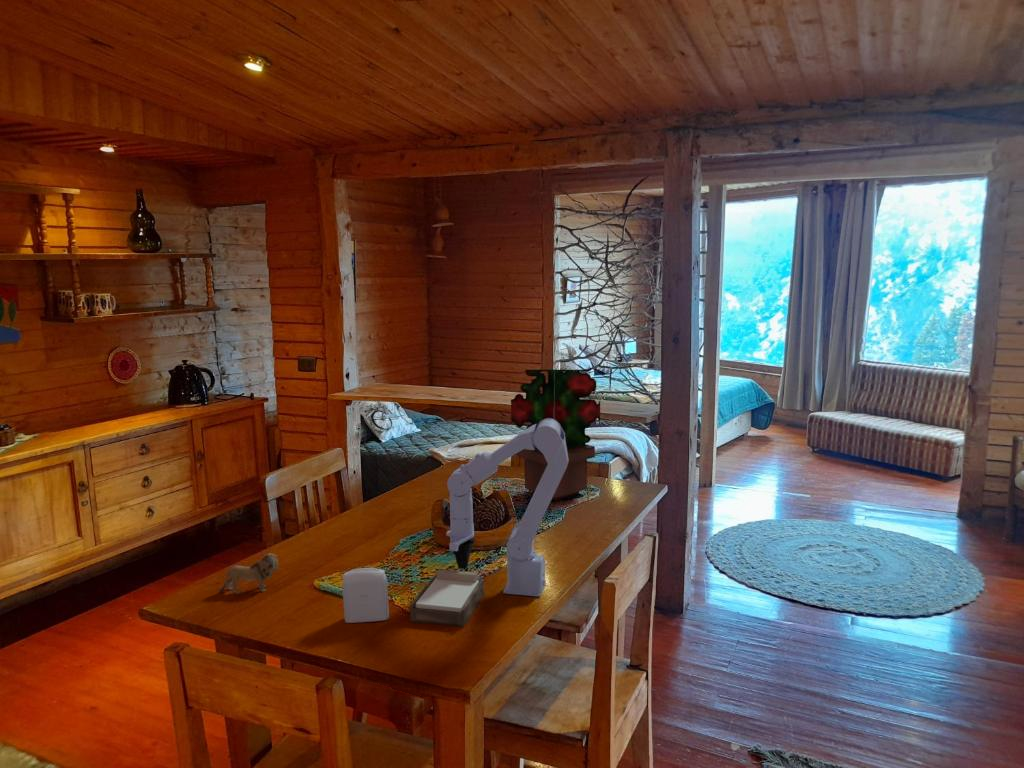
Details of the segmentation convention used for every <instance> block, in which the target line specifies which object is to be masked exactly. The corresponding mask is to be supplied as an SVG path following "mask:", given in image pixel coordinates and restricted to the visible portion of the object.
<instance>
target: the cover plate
mask: <svg viewBox="0 0 1024 768" xmlns="http://www.w3.org/2000/svg"><path fill="white" fill-rule="evenodd" d="M436 575H437V577H436V579H435V580H434V581H433V582H432V584H431V585H430V586H429V587H428V589H427V590H426V591H425V592H424V594H423V595H422V596H421V597H420V599H419V600H418V601H417V602H416V608H425V609H435V610H445V611H455V612H461V610H462V608H463V607H464V605H465V604H466V602H467V601H468V599H469V598H470V596H471V595H472V593H473V592H474V590H475V588H476V587H477V585H478V584H479V580H477V579H478V573H477V572H473V571H472V572H471V571H463V570H462V571H461V570H450V569H437V571H436Z"/></svg>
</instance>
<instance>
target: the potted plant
mask: <svg viewBox="0 0 1024 768" xmlns="http://www.w3.org/2000/svg"><path fill="white" fill-rule="evenodd" d="M588 371H589V369H557V367H555V368H554V369H525V374H526V376H528V377H535V378H533V379H532V380H531V382H530V383H522V384H520V386H519V389H520V391H522V393H523V392H525V398H524V396H523V394H521V393H517V394H515V396H514V398H512V399H510V419H511V420H510V422H511V423H514V425H515V426H516V427H517V428H522V427H524V425H525V423H530V424H528V425H527V426H526V428H525V430H526V429H527V428H529V427H531V426H532V425H535V424H536V427H535V428H537V426H538V424H539V422H540V421H542V420H544V419H547V418H550V419H554V420H556V421H557V422H558V423H559V424H560V426H561V428H562V429H563V431H564V433H565V441H566V447H567V453H568V460H569V461H568V465H567V468H566V470H565V472H564V474H563V476H562V478H561V481H560V483H559V485H558V487H557V489H556V491H555V493H554V495H553V497H552V499H551V501H553V502H558V501H560V500H565V499H568V498H571V497H575V496H578V495H580V492H582V491H584V490H588V459H594V458H595V457H596V446H595V445H591V444H589V443H590V442H591V437H590V435H587V434H586V429H588V428H590V427H591V424H593V423H595V422H596V421H597V419H598V421H599V422H601V400H599V401H598V403H597V402H596V400H595V399H593V398H589V399H588V397H590V396H591V394H592V393H593V392H595V391H596V390H597V380H596V379H595V378H593V377H591V375H590V374H589V373H587V372H588ZM543 372H547V377H546V375H545V374H544V373H543ZM583 372H584V373H583ZM546 380H547V381H546ZM541 388H542V390H541ZM541 391H542V392H541ZM582 398H583V399H582ZM587 443H588V444H587ZM516 457H518V458H520V459H524V489H526V490H528V491H532V494H533V495H534V492H535V490H536V488H537V486H538V484H539V482H540V480H541V478H542V475H543V473H544V471H545V469H546V467H547V465H548V463H547V461H546V459H545V456H544V454H543V453H542V452H541V451H540V450H539V449H538V448H537V447H535V450H529V449H523V450H521V451H519V452H518V453H516Z"/></svg>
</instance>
